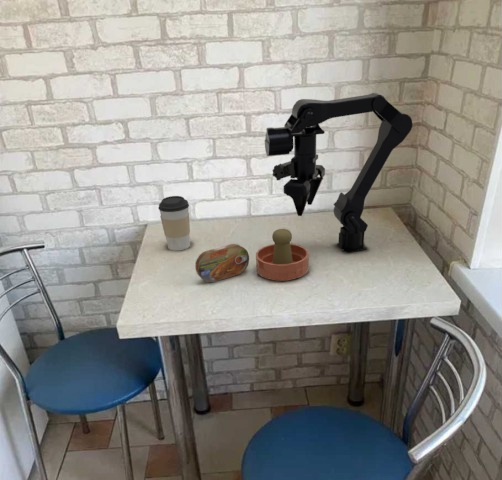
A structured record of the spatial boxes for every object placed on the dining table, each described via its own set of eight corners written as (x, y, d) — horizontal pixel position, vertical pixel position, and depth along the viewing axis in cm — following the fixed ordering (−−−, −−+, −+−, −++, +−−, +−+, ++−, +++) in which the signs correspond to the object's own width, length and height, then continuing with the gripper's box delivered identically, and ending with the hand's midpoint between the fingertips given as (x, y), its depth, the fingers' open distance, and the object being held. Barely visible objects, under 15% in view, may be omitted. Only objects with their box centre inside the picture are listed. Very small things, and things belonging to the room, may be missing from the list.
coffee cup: (158, 250, 162) (151, 202, 154) (173, 238, 169) (166, 192, 160) (185, 253, 159) (178, 204, 150) (198, 241, 166) (193, 194, 157)
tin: (200, 285, 140) (196, 256, 136) (195, 281, 143) (192, 252, 138) (250, 271, 146) (249, 243, 141) (245, 267, 148) (243, 239, 144)
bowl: (296, 256, 153) (296, 239, 150) (316, 276, 142) (317, 259, 139) (249, 264, 150) (249, 248, 147) (266, 286, 138) (266, 269, 136)
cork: (292, 273, 142) (291, 235, 136) (269, 272, 143) (268, 234, 137) (295, 264, 147) (295, 226, 141) (273, 263, 148) (272, 225, 142)
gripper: (287, 142, 149) (288, 197, 157) (263, 160, 134) (265, 219, 143) (326, 144, 145) (324, 200, 154) (306, 162, 131) (305, 223, 139)
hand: (304, 210), depth 147 cm, fingers open, 9 cm apart
